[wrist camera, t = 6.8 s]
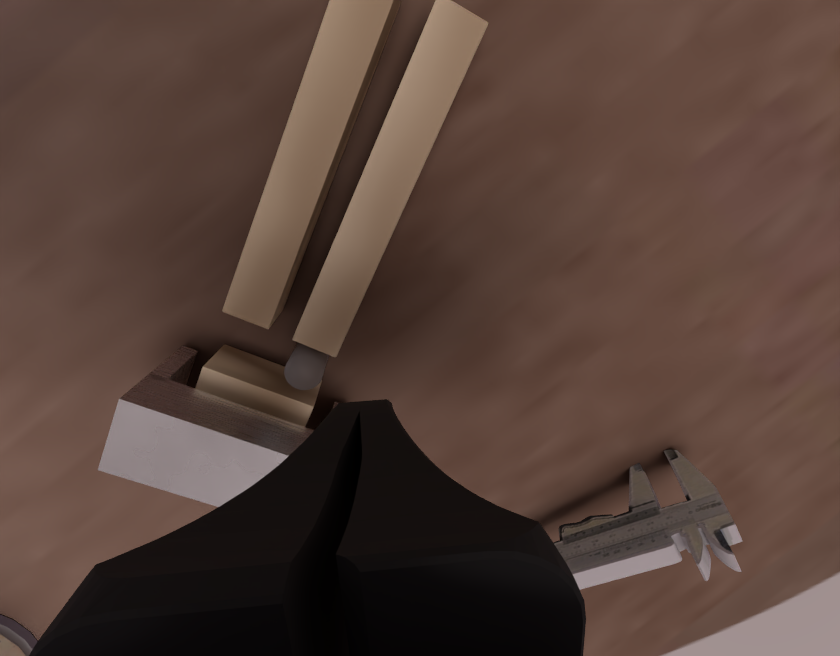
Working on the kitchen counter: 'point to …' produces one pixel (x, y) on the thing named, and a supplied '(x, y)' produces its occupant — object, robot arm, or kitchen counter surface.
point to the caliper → (651, 530)
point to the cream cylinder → (15, 638)
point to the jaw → (385, 186)
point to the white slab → (193, 437)
